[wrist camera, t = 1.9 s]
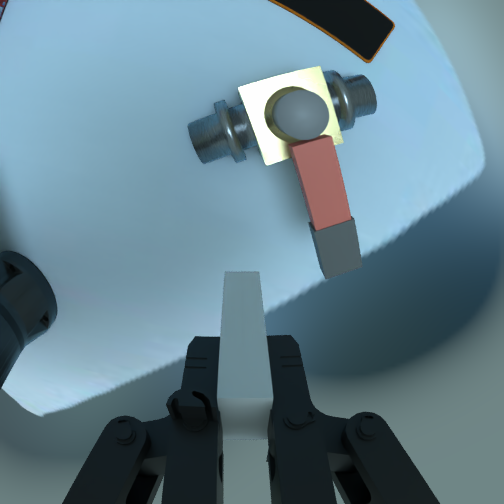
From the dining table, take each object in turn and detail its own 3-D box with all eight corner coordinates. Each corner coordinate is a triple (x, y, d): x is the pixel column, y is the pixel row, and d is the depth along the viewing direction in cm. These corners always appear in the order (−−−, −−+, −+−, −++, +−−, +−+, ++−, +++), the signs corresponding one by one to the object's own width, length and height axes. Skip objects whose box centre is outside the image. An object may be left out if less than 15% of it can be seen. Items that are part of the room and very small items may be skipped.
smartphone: (367, 65, 26) (370, 64, 25) (238, -12, 21) (238, -15, 20) (394, 25, 23) (398, 23, 22) (273, -51, 18) (274, -54, 17)
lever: (314, 258, 27) (324, 279, 24) (265, 99, 21) (270, 97, 17) (349, 247, 27) (363, 266, 24) (308, 88, 20) (320, 84, 17)
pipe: (212, 169, 31) (203, 188, 24) (189, 111, 28) (173, 112, 21) (362, 123, 29) (398, 130, 22) (345, 66, 26) (378, 56, 19)
